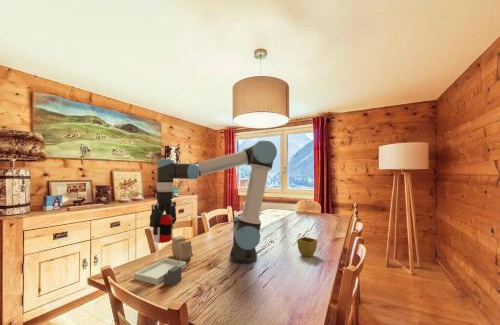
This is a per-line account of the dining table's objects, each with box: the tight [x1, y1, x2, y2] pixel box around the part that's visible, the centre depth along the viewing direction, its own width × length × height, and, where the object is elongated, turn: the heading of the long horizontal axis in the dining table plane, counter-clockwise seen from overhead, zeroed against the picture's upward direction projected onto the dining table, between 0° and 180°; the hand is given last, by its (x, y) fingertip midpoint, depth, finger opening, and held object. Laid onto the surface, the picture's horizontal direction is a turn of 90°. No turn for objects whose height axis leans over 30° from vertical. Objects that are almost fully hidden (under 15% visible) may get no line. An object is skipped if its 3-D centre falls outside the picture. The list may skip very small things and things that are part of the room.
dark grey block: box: [163, 266, 182, 287], centre depth 98 cm, size 5×5×6 cm
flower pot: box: [296, 236, 318, 258], centre depth 131 cm, size 9×9×9 cm
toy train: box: [171, 235, 194, 262], centre depth 126 cm, size 6×17×10 cm, turn 39°
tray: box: [133, 257, 187, 286], centre depth 107 cm, size 13×19×2 cm
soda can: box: [156, 213, 173, 244], centre depth 108 cm, size 8×8×12 cm
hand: (163, 239), depth 107 cm, fingers closed on soda can, 8 cm apart
